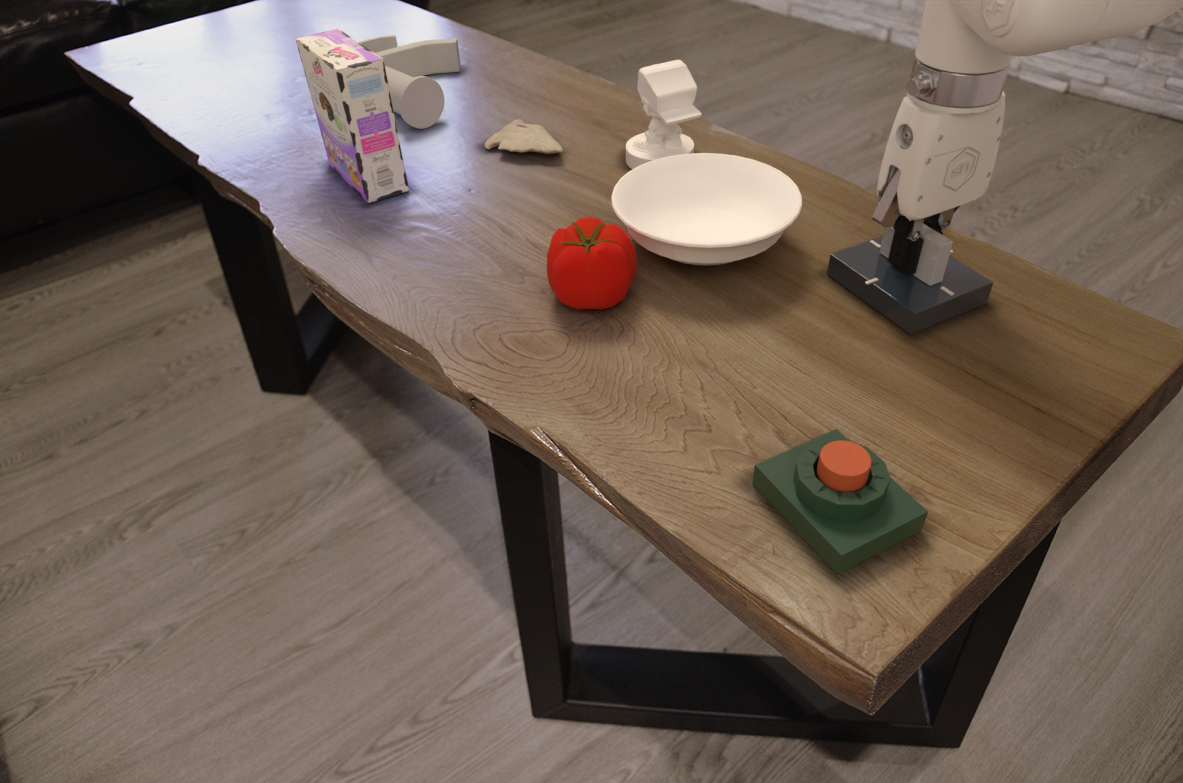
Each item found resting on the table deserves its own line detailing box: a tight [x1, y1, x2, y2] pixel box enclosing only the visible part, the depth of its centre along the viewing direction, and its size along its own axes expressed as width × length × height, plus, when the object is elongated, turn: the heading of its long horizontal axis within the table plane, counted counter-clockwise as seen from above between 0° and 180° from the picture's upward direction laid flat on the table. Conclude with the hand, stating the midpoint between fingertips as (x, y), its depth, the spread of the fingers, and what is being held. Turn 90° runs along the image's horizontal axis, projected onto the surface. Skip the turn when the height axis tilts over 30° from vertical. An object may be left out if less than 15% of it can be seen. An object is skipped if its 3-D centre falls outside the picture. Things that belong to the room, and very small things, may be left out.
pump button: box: [817, 440, 871, 492], centre depth 61 cm, size 4×4×2 cm
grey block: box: [880, 220, 954, 286], centre depth 82 cm, size 7×2×5 cm, turn 28°
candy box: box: [295, 28, 410, 204], centre depth 103 cm, size 14×6×16 cm, turn 34°
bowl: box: [610, 152, 803, 266], centre depth 91 cm, size 20×20×6 cm
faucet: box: [358, 34, 462, 129], centre depth 127 cm, size 20×7×25 cm
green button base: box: [751, 428, 929, 575], centre depth 63 cm, size 10×8×4 cm
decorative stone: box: [484, 119, 564, 155], centre depth 111 cm, size 8×12×3 cm
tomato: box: [546, 216, 638, 311], centre depth 84 cm, size 9×9×8 cm
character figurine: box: [625, 59, 703, 170], centre depth 104 cm, size 9×10×12 cm
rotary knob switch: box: [826, 234, 994, 335], centre depth 85 cm, size 12×11×3 cm
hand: (910, 263), depth 84 cm, fingers closed on grey block
